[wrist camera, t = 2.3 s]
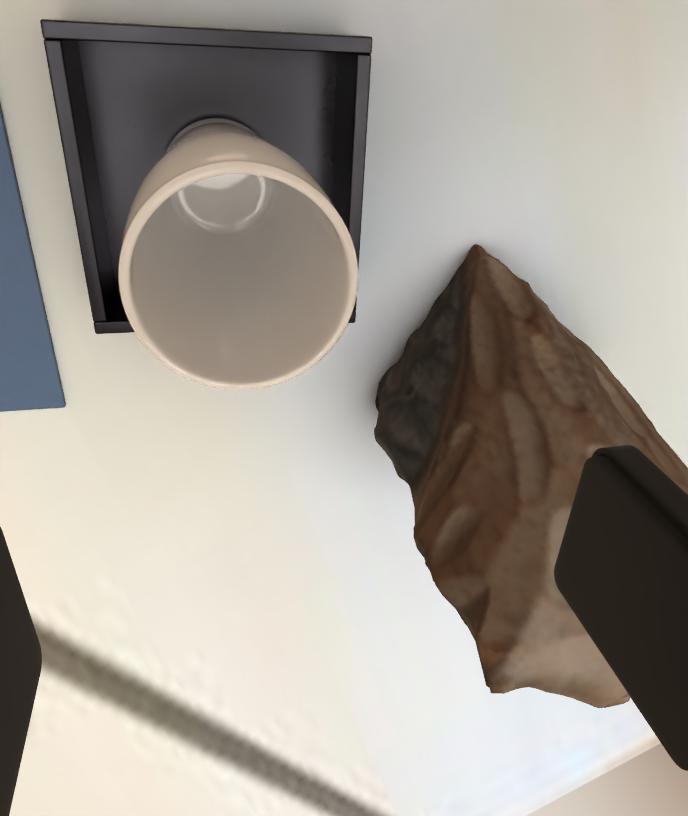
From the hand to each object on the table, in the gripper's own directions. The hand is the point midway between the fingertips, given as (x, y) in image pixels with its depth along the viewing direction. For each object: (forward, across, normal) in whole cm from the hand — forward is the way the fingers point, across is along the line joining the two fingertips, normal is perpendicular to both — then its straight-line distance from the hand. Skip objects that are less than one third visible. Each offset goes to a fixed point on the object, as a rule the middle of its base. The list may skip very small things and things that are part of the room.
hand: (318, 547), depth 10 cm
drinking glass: (+24, 0, -1) cm, 24 cm away
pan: (+24, 0, -1) cm, 24 cm away
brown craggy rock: (+24, -15, +9) cm, 30 cm away
